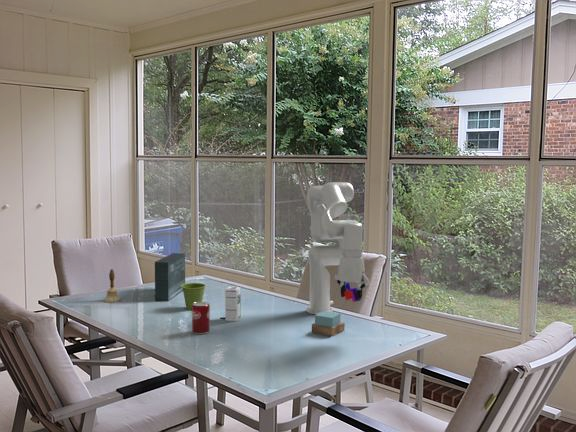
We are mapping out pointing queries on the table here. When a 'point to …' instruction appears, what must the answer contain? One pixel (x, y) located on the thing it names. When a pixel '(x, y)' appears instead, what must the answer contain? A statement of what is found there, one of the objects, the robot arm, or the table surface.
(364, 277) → the robot arm
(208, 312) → the soda can
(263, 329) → the table surface
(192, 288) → the plant pot
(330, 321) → the tower top block
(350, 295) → the dreidel
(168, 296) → the dark green box
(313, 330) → the tower base block
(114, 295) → the hand bell
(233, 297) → the syrup box
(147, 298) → the table surface
